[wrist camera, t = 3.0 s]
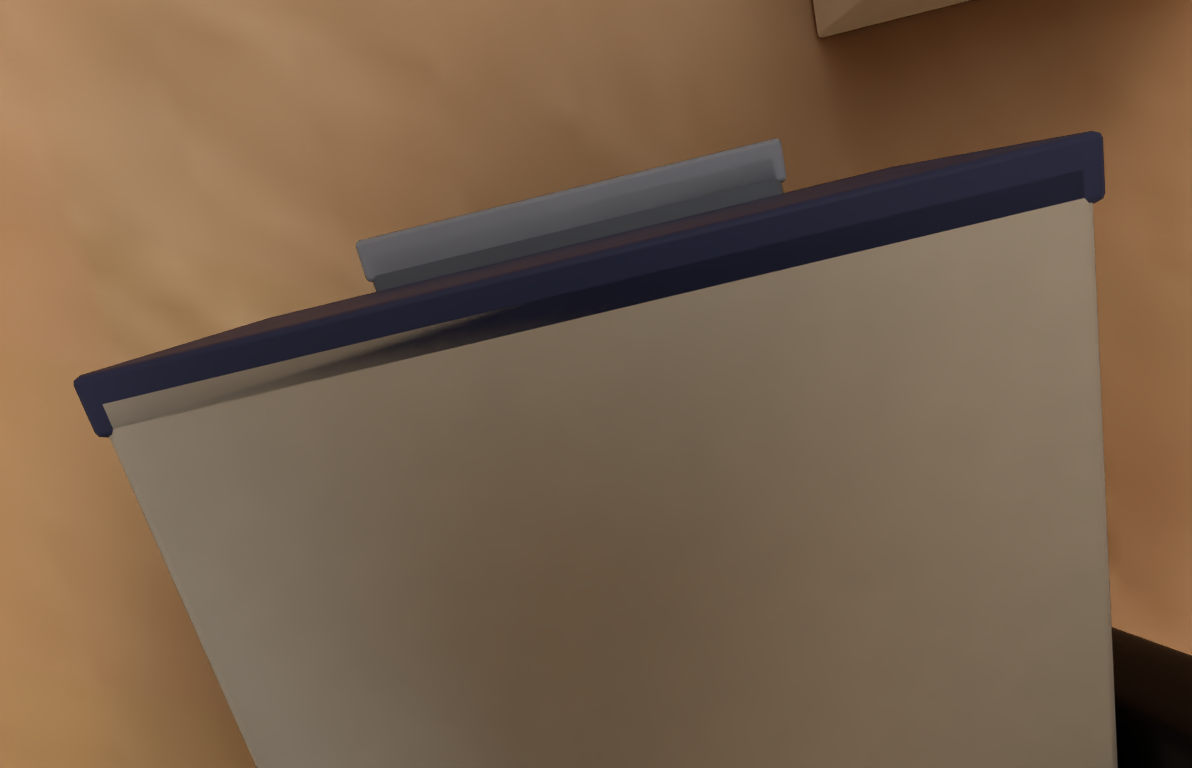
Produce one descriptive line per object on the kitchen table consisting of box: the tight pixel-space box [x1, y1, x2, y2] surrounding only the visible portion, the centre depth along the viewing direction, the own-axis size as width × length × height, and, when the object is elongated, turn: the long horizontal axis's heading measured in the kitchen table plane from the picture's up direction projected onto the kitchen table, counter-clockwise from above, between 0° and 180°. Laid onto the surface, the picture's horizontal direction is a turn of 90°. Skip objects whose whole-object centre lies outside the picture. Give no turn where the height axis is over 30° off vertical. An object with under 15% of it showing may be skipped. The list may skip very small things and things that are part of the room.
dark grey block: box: [356, 138, 786, 292], centre depth 9 cm, size 4×11×4 cm, turn 13°
